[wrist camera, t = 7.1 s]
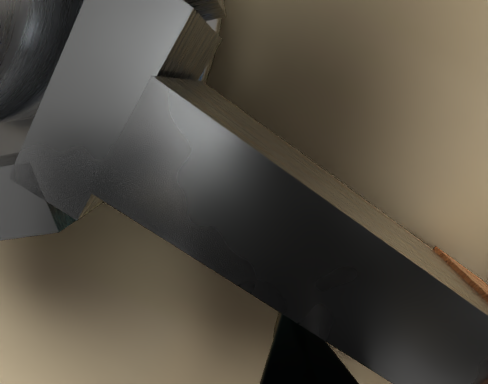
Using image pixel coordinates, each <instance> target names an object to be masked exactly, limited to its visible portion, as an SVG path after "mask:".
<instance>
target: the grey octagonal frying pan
mask: <svg viewBox="0 0 488 384" xmlns="http://www.w3.org/2000/svg"><path fill="white" fill-rule="evenodd" d="M223 17H226V12H225V6H224V0H84V2H83V4H82V7H81V9H80V11H79V14H78V16H77V18H76V21H75V23H74V25H73V28H72V30H71V32H70V35H69V37H68V40H67V42H66V44H65V47H64V49H63V51H62V54H61V56H60V58H59V61H58V63H57V65H56V68H55V70H54V72H53V75H52V77H51V79H50V82H49V84H48V86H47V89H46V91H45V93H44V96H43V98H42V101H41V103H40V105H39V108H38V110H37V112H36V115H35V117H34V119H33V122H32V124H31V126H30V129H29V131H28V133H27V136H26V138H25V140H24V143H23V145H22V147H21V150H20V152H18V153H12V154H7V155H1V156H0V240H8V239H15V238H22V237H29V236H37V235H44V234H51V233H59V232H60V231H62V230H63V229H65V228H66V227H67V226H69V225H70V224H72V223H73V222H74V221H76V220H79V219H80V218H81V217H83V216H84V215H86V214H87V213H89V212H90V211H91V210H93V209H94V208H96V207H97V206H98V205H100V204H101V203H103V202H106V203H107V204H109V205H111V206H112V207H114V208H115V209H117V210H118V211H120V212H122V213H123V214H125V215H126V216H128V217H130V218H131V219H133V220H134V221H136V222H137V223H139V224H141V225H142V226H144V227H145V228H147V229H149V230H150V231H152V232H153V233H155V234H157V235H158V236H160V237H161V238H163V239H164V240H166V241H168V242H169V243H171V244H172V245H174V246H176V247H177V248H179V249H180V250H182V251H183V252H185V253H187V254H188V255H190V256H191V257H193V258H195V259H196V260H198V261H199V262H201V263H202V264H204V265H206V266H207V267H209V268H210V269H212V270H214V271H215V272H217V273H218V274H220V275H222V276H223V277H225V278H226V279H228V280H229V281H231V282H233V283H234V284H236V285H237V286H239V287H241V288H242V289H244V290H245V291H247V292H248V293H250V294H252V295H253V296H255V297H256V298H258V299H260V300H261V301H263V302H264V303H266V304H267V305H269V306H271V307H272V308H274V309H275V310H277V311H279V312H280V313H282V314H283V315H285V316H286V317H288V318H290V319H291V320H293V321H294V322H296V323H298V324H299V325H301V326H302V327H304V328H306V329H307V330H309V331H310V332H312V333H313V334H315V335H317V336H318V337H320V338H321V339H323V340H325V341H326V342H328V343H329V344H331V345H332V346H334V347H336V348H337V349H339V350H340V351H342V352H344V353H345V354H347V355H348V356H350V357H351V358H353V359H355V360H356V361H358V362H359V363H361V364H363V365H364V366H366V367H367V368H369V369H371V370H372V371H374V372H375V373H377V374H378V375H380V376H382V377H383V378H385V379H386V380H388V381H390V382H391V383H393V384H488V285H487V284H486V283H485V282H484V281H483V280H481V279H480V278H478V277H477V276H476V275H474V274H473V273H472V272H470V271H469V270H468V269H466V268H465V267H464V266H462V265H461V264H459V263H458V262H457V261H455V260H454V259H453V258H451V257H450V256H449V255H447V254H446V253H444V252H443V251H442V250H440V249H439V248H438V247H435V248H434V249H432V248H430V247H429V246H428V245H426V244H425V243H424V242H422V241H421V240H420V239H418V238H417V237H415V236H414V235H413V234H411V233H410V232H409V231H407V230H406V229H404V228H403V227H402V226H400V225H399V224H398V223H396V222H395V221H394V220H392V219H391V218H389V217H388V216H387V215H385V214H384V213H383V212H381V211H380V210H378V209H377V208H376V207H374V206H373V205H372V204H370V203H369V202H368V201H366V200H365V199H363V198H362V197H361V196H359V195H358V194H357V193H355V192H354V191H352V190H351V189H350V188H348V187H347V186H346V185H344V184H343V183H342V182H340V181H339V180H337V179H336V178H335V177H333V176H332V175H331V174H329V173H328V172H326V171H325V170H324V169H322V168H321V167H320V166H318V165H317V164H315V163H314V162H313V161H311V160H310V159H309V158H307V157H306V156H305V155H303V154H302V153H300V152H299V151H298V150H296V149H295V148H294V147H292V146H291V145H289V144H288V143H287V142H285V141H284V140H283V139H281V138H280V137H279V136H277V135H276V134H274V133H273V132H272V131H270V130H269V129H268V128H266V127H265V126H263V125H262V124H261V123H259V122H258V121H257V120H255V119H254V118H253V117H251V116H250V115H248V114H247V113H246V112H244V111H243V110H242V109H240V108H239V107H237V106H236V105H235V104H233V103H232V102H231V101H229V100H228V99H227V98H225V97H224V96H222V95H221V94H220V93H218V92H217V91H216V90H214V89H213V88H211V87H210V86H209V85H207V84H206V83H205V82H203V81H199V78H200V76H201V75H202V73H203V71H204V70H205V68H206V66H207V65H208V63H209V61H210V60H211V58H212V56H213V55H214V53H215V51H216V50H217V48H218V46H219V45H220V43H221V41H222V39H221V38H220V37H219V35H218V34H217V33H216V32H215V31H214V30H213V29H212V28H211V27H210V26H209V24H208V23H207V22H206V21H209V20H214V19H218V18H223Z"/></svg>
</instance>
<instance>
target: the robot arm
mask: <svg viewBox="0 0 488 384" xmlns="http://www.w3.org/2000/svg"><path fill="white" fill-rule="evenodd" d="M260 384H359V383H358V382H357V381H356V379H355V378H354V377H353V376H352V374H351V373H350V372H349V371H348V369H347V368H346V367H345V365H344V364H343V363H342V362H341V360H340V359H339V358H338V357H337V355H336V354H335V353H334V352H333V350H332V349H331V348H330V346H329V345H328V344H327V343H326V341H325V340H323V339H321V338H320V337H318V336H317V335H315V334H313V333H312V332H310V331H309V330H307V329H306V328H304V327H302V326H301V325H299V324H298V323H296V322H294V321H293V320H291V319H290V318H288V317H286V316H285V315H283V314H282V313H280V312H279V314H278V317H277V321H276V324H275V328H274V335H273V342H272V345H271V348H270V352H269V355H268V358H267V361H266V365H265V368H264V371H263V374H262V378H261V381H260Z"/></svg>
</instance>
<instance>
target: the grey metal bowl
mask: <svg viewBox="0 0 488 384" xmlns="http://www.w3.org/2000/svg"><path fill="white" fill-rule="evenodd" d="M83 2H84V0H0V156H1V155H7V154H12V153H18V152H20V150H21V147H22V145H23V143H24V140H25V138H26V136H27V133H28V131H29V129H30V126H31V124H32V122H33V119H34V117H35V115H36V112H37V110H38V108H39V105H40V103H41V101H42V98H43V96H44V93H45V91H46V89H47V86H48V84H49V82H50V79H51V77H52V75H53V72H54V70H55V68H56V65H57V63H58V61H59V58H60V56H61V54H62V51H63V49H64V47H65V44H66V42H67V40H68V37H69V35H70V32H71V30H72V28H73V25H74V23H75V21H76V18H77V16H78V14H79V11H80V9H81V7H82V4H83ZM206 22H207V23H208V24H209V26H210V27H211V28H212V29H213V30H214V31H215V32H216V33H217V34H218V35H219V33H220V28H221V18H218V19H214V20H209V21H206ZM214 56H215V53H214V55H213V56H212V58H211V60H210V61H209V63H208V65H207V66H206V68H205V70H204V71H203V73H202V75H201V76H200V78H199V81H203V82H205V83H206V80H207V77H208V74H209V71H210V68H211V65H212V63H213V60H214Z"/></svg>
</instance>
